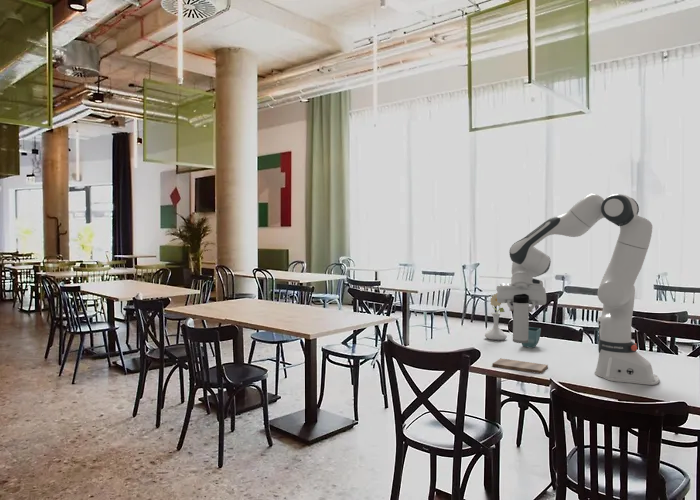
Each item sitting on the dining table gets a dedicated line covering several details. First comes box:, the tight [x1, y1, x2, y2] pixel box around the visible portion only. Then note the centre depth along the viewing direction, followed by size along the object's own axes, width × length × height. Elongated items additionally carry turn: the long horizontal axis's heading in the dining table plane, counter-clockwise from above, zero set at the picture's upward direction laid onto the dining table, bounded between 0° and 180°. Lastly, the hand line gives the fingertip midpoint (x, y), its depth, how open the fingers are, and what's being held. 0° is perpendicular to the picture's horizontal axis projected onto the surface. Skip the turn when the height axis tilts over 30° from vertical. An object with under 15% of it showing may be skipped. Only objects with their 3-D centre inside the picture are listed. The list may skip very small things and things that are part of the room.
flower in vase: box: [484, 292, 508, 341], centre depth 278 cm, size 13×11×25 cm
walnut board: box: [491, 357, 549, 374], centre depth 224 cm, size 20×11×1 cm, turn 57°
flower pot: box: [521, 326, 542, 349], centre depth 262 cm, size 9×9×9 cm
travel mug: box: [512, 294, 530, 344], centre depth 223 cm, size 6×7×20 cm
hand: (520, 310), depth 222 cm, fingers closed on travel mug, 6 cm apart
